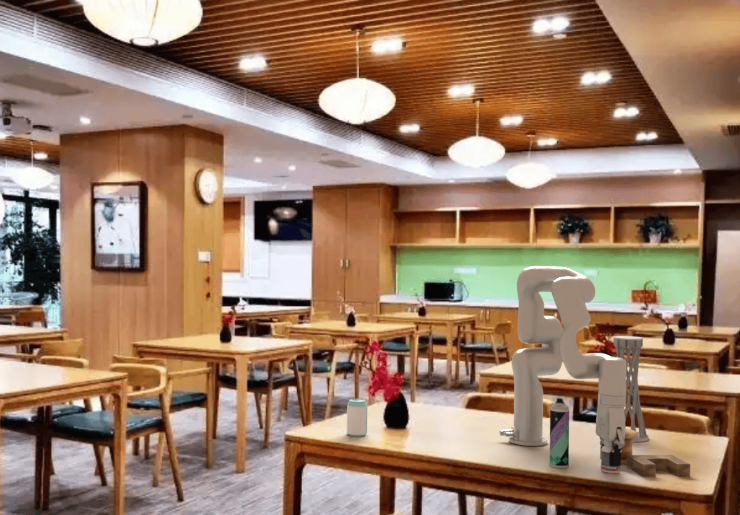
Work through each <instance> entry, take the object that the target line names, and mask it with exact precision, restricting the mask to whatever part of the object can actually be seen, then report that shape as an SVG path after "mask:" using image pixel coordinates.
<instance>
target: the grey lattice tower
mask: <svg viewBox="0 0 740 515" xmlns="http://www.w3.org/2000/svg"><path fill="white" fill-rule="evenodd" d="M643 343H644V338H643V337H640V336H630V335H629V336H627V335H617V336H613V347H614V348H615V352H616V357H619V358H622V359H624V360H625V361H626V404H625V407H624V413H625V422H626V421H627V417H628V413H629V418H630V430H634V431H636V432H637V437H636V438H632V443H639V442H640V443H643V442H647V441H649V440H650V436H649V435H648V434H647V430H646V426H645V420H644V416H643V413H642V407H641V402H640V391H639V381H638V380H639V379H638V378H639V363H640V354H641V350H642V347H643V346H644V344H643ZM625 353H626V354H625ZM625 355H626V359H625ZM631 355H632V356H631ZM631 357H632V358H631ZM628 367H629V368H628ZM628 388H629V389H628ZM631 399H632V404H631ZM635 416H636V418H637V423H638V431H637V428H636V423H635ZM625 429H627V428H626V427H625Z"/></svg>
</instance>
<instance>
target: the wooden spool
mask: <svg viewBox="0 0 740 515" xmlns="http://www.w3.org/2000/svg"><path fill="white" fill-rule="evenodd" d="M637 432H638V431H637V430H636V431H634V430H631V428H630V429H629V428H626V429H625V439H624V443H625V444H624V446H623V448H622V452H621V466H627V455H633V442H632V438H636V437H637ZM615 440H617V439H615Z"/></svg>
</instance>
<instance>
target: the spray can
mask: <svg viewBox="0 0 740 515" xmlns="http://www.w3.org/2000/svg"><path fill="white" fill-rule="evenodd" d="M549 410H550V411H549V412H550V413H549V466H550V467H551V468H555V469H567V468H569V465H570V462H569V460H570V453H569V452H570V451H569V450H570V445H569V444H570V407H569V406H568V405H567V404H566V403H565V402H564V399H563V397H557V398H556V401H555V402H554V403H553V404H552V405H550V409H549Z"/></svg>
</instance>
